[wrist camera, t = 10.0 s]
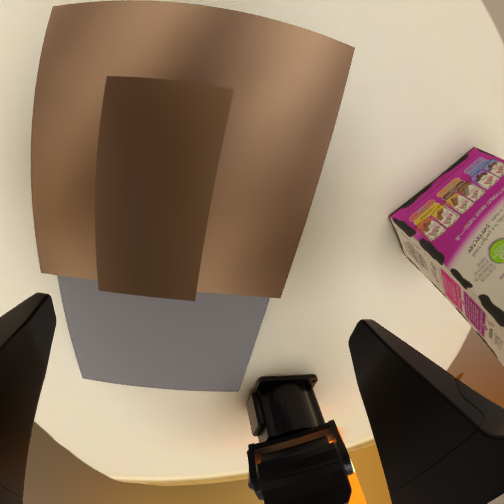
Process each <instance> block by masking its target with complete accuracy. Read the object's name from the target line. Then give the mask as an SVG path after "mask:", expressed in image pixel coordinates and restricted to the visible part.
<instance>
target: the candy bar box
mask: <svg viewBox="0 0 504 504" xmlns="http://www.w3.org/2000/svg"><path fill="white" fill-rule="evenodd" d="M390 220H391V222H392V224H393V227H394V229H395V231H396V233H397V236H398V238H399V241H400V244H401V247H402V249H403V252H404V254H405V256H406V257H407V258H408V259H409V260H410V261H411V262H412V263H413V264H414V265H415V266H416V267H417V268H418V269H419V270H420V271H421V272H422V273H423V274H424V275H425V276H426V277H427V278H428V279H429V280H430V281H431V282H432V283H433V285H434V286H435V287H436V288H437V289H438V290H439V291H440V292H441V293H442V294H443V295H444V296H445V297H446V298H447V299H448V300H449V301H450V303H451V304H452V305H453V306H454V307H455V308H456V309H457V310H458V312H459V313H460V314H461V315H462V316H463V317H464V318H465V319H466V320H467V322H468V323H469V324H470V325H471V326H472V327H473V329H474V330H475V331H476V332H477V333H478V335H479V336H480V337H481V338H482V339H483V341H484V342H485V343H486V344H487V346H488V347H489V348H490V349H491V351H492V352H493V353H494V354H495V356H496V357H497V358H498V359H499V361H500V362H501V363H502V365H503V366H504V160H503V159H501V158H498V157H496V156H494V155H492V154H489V153H487V152H485V151H482V150H480V149H478V148H473V149H472V150H471V151H469V152H468V153H467V154H466V155H465V156H464V157H462V158H461V159H460V160H459V161H458V162H457V163H455V164H454V165H453V166H452V167H451V168H450V169H448V170H447V171H446V172H445V173H444V174H443V175H441V176H440V177H439V178H438V179H437V180H435V181H434V182H433V183H432V184H431V185H429V186H428V187H427V188H426V189H425V190H423V191H422V192H421V193H420V194H419V195H417V196H416V197H415V198H414V199H412V200H411V201H410V202H408V203H407V204H406V205H405V206H403V207H402V208H401V209H400V210H398V211H397V212H396V213H394V214H393V215H392V216H390Z"/></svg>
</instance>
